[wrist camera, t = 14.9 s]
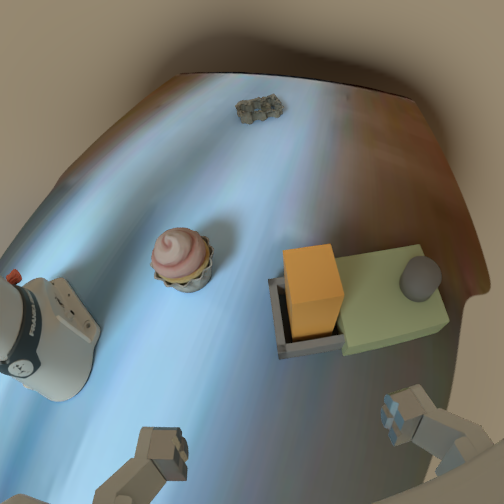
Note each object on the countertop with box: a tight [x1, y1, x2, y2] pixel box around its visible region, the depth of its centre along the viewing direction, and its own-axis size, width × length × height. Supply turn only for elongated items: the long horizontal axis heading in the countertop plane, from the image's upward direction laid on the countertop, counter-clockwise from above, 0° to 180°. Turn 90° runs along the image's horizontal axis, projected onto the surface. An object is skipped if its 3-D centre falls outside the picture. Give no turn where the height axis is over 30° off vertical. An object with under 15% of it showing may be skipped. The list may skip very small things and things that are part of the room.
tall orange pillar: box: [283, 244, 345, 342], centre depth 34 cm, size 6×5×12 cm
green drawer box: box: [268, 244, 449, 359], centre depth 36 cm, size 12×22×7 cm, turn 95°
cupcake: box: [150, 228, 214, 293], centre depth 41 cm, size 9×9×10 cm
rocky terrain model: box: [235, 94, 284, 124], centre depth 67 cm, size 11×8×4 cm
